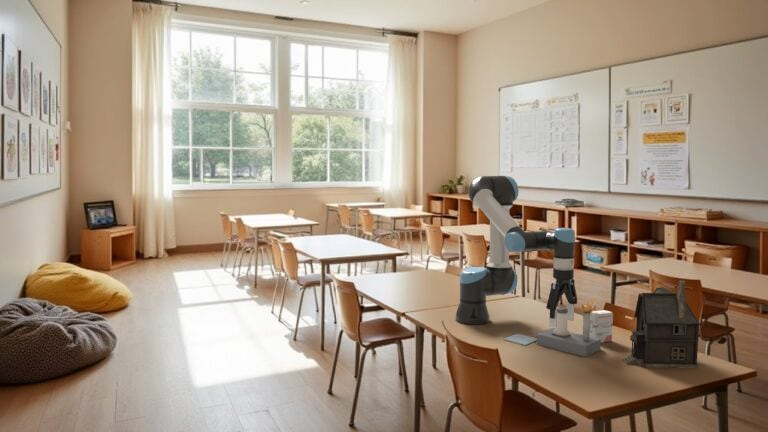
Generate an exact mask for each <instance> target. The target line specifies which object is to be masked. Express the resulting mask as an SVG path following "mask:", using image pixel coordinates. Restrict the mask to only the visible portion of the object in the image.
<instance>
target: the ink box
mask: <svg viewBox="0 0 768 432" xmlns="http://www.w3.org/2000/svg"><path fill="white" fill-rule="evenodd" d="M613 321H614V313H613V312H612V311H609V310H605V309H603V310H596V311H593V310H592V313H590V334H589V336H590V337H594V338H598V339H601V343H608V342H612V340H613V325H614V324H613Z"/></svg>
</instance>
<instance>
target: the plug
mask: <svg viewBox="0 0 768 432" xmlns="http://www.w3.org/2000/svg"><path fill="white" fill-rule="evenodd" d="M556 310H557V327H555V330H553V334H555V335H556V336H559V337H563V338H565V337H567V336H569V334H570V332H571V331H570V330H568V322H569V320H568V309H567V308H565V307H563V308H562V307H557V308H556Z"/></svg>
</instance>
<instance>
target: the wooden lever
mask: <svg viewBox="0 0 768 432" xmlns="http://www.w3.org/2000/svg"><path fill="white" fill-rule="evenodd" d="M597 300H598V299H596V298H591V299H590V300H589V301H588V302H587V303H586V304H581V312H582V314H583V313H592V312H593V311H597Z"/></svg>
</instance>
